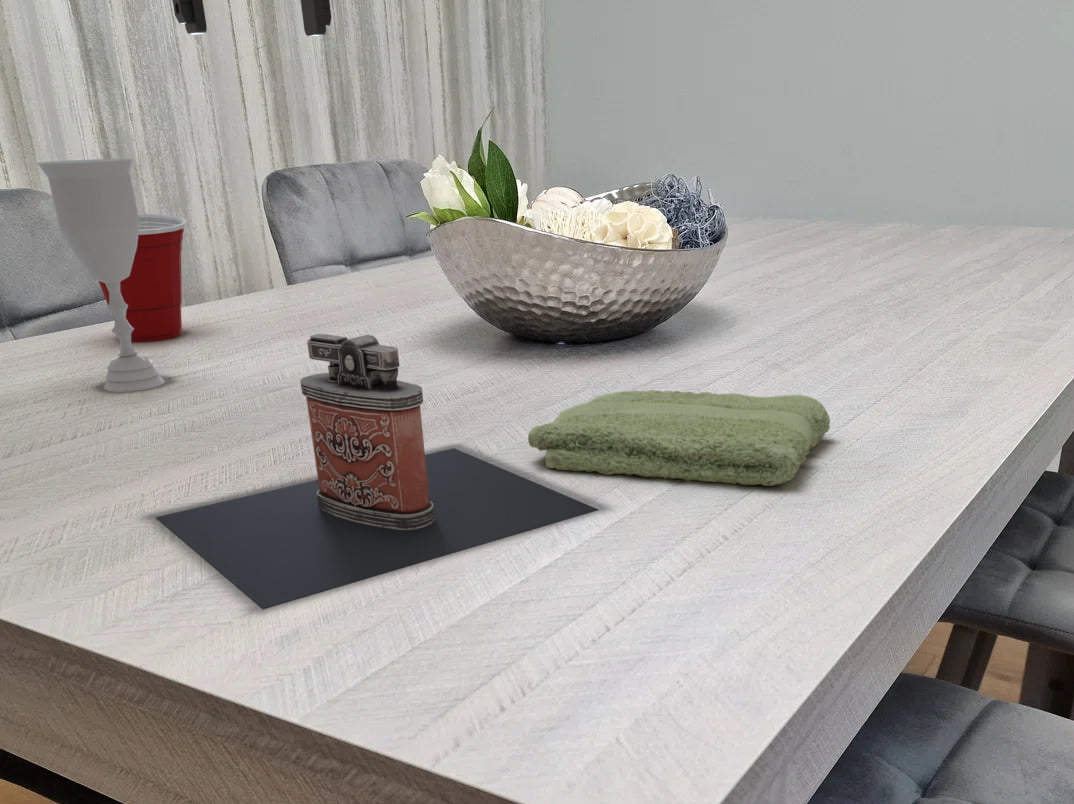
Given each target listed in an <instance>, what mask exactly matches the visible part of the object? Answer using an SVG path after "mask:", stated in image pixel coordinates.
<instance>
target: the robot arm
mask: <svg viewBox="0 0 1074 804" xmlns="http://www.w3.org/2000/svg"><path fill="white" fill-rule="evenodd" d="M330 1H331V0H300V6H301V13H302V14H301V15H302V22H303V30H304V33H305V35H306V36H307V37H320V36H325V35H326V33H327V27H329V26H331V22H332V19H333V18H332V9H331V2H330ZM171 2H172V6H173V12H174V16H175V18H176V20H177V22H178V24H179V25H184V27H185V31H186V34H188V35H203V34H206V33H207V30H208V27H207V20H206V14H205V8H204V1H203V0H171Z"/></svg>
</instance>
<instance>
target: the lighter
mask: <svg viewBox="0 0 1074 804" xmlns="http://www.w3.org/2000/svg"><path fill="white" fill-rule="evenodd" d="M306 344H307V350H308V357H309V360H313V361H314V360H315V361H321V362H326V363H327V362H328V363H329V364H328V365H327V369H328V372H321V373H314V374H311V375H307V376H304V377H302V378H301V379H300V381H299V382H300V388H301V389H300V390H301V394H302V396H305V398H306V399H305V400H306V406H307V412H308V419H309V426H310V433H311V440H312V447H313V453H314V461H315V468H316V475H317V480H318V482H319V490H318V491H317V499H318V505H319V508H320V509H321V510H323V511H325V512H328V513H330V514H332V515H335V516H337V517H341V518H344V519H347V520H350V521H353V522H358V523H363V524H367V525H372V526H377V527H384V528H391V529H398V530H413V529H418V528H422V527H425V526H428V525H430V524H431V523H433V521H434V520H435V519H434V508H433V503H432V502H430V501H429V492H428V481H427V471H426V461H425V455H426V451H425V442H424V441H425V439H424V431H423V422H422V411H421V410H422V409H421V405H422V404H424V395H423V388H422V386H420V385H417V384H414V383H410V382H407V381H402V380H398V376H399V368H400V366H401V365H400V357H399V348H398V347H397V346H393V345H391V346H390V345H383V344H380V343H379V340H378V339H377V337H375V336H374V335H372V334H364V335H359V336H355V337H352V338H348V337H347V336H341V335H334V334H327V333H315V334H312V335H309V339H307V340H306Z"/></svg>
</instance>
